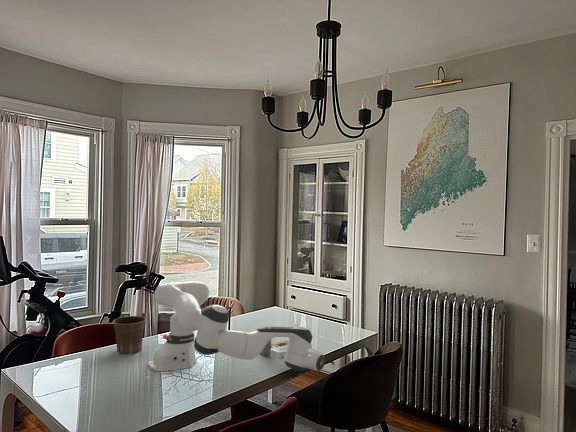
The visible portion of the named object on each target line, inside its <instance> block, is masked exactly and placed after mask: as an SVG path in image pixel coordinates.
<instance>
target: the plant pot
mask: <svg viewBox="0 0 576 432" xmlns="http://www.w3.org/2000/svg"><path fill="white" fill-rule="evenodd" d="M146 320H147V319H146V317H144V316H140V315H129V316H121V317H118V318H115V319H113V320H112V324H113V329H114V331H115V340H116V342H115V343H116V351H117V353H118V352H119V353H118V354H124V355H127V353H131V354H135V352H136V353H138V352H139V351H142V350H143V349H142V348H143V337H144V328H145V322H146Z"/></svg>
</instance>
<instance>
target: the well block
mask: <svg viewBox="0 0 576 432" xmlns="http://www.w3.org/2000/svg"><path fill="white" fill-rule="evenodd" d="M288 342H289V340H283V341H280V342H279V341H278V342H274V343H271V347H272V346H275V347H276V348H277V347H281V346H285V345H286V343H288Z"/></svg>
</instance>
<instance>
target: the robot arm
mask: <svg viewBox="0 0 576 432" xmlns="http://www.w3.org/2000/svg"><path fill="white" fill-rule="evenodd" d="M209 289H210V288H209V286H208V284H207V283H205V282H201V281H197V280H196V281H194V280H193V281H183V282H182V281H181V282H179V281H178V282H166V283H162V284H159V285H157V287H156V288H155V292H154V298H155V302H156V303H157V304H158V305H160V306H164V307H166V308H168V309H169V308H170V309H171V310H172V311H174V313H173V314H172V316H171V317H170V321H169V322H170V323H169V324H170V325H169V326H170V327H169V328H170V329H169V332H170V333H168V335H167V334H165V333H164V334H163V335H162V338H163V339H164V340H166V341H165V342H164V343H163V344H162V345H161V346H160V347H159V348H157V350H155V352H154V354H153V359H152V360H151V361H149V362H148V364H149V366H148V367H149V368H150V369H151V370H152V371H155V372H158V373H159V372H161V373H162V372H170V371H176V370H181V369H187V368H192V367H193V365H194V364H196V363H197V358H196V353H195V352H197V353H199V354H202V355H203V356H204V355H205V356H210V355H211V356H212V355H215V354H217V353H221V354H223V355H226V356H229V357H231V358H235V359H240V360H245V361H246V360H248V361H249V360H250V361H252V360H253V359H256V358H257V357H258V356H260V353H261V352H262V351H263V349H264V347H265V346H266V344H267V343H268V342H269V341H270V340H271V341H272V339H274V338H288V341H289V342H288V343H286V345H285V346H281V347H277V348H276V347H275V346H272V347H271V350H270V357H271V358H273V359H275V360H283V362H284V364H285V366H286V367H287V368H290V369H292V370H294V371H297V372H304V371H306V370H308V369H309V370H312V371H316V372H320V371H322V370H323V369H324V366H325V364H326V363H325V362H326V356H325V355H324V354H323V353H322V352H320V351H318V350H317V349H315V348H312V347H313V345H312V344H313V343H312V340H313V334H312V332H311V330H310V329H309V328H307V327H304V326H295V327H294V326H292V327H289V326H287V327H285V326H284V327H283V326H260V327H258V328H257V329H256V330H254V331H251V332H250V331H249V332H247V331H243V330H234V329H233V330H229V329H227V325H228V322H229V320H230V311H229V310H228V308H226V307H224V306H222V305H219V304H210V305H208V306H206V307H205V306H204V307H203V308H202V307H201V305H203V304H204V303H205V302H207V300H208V299H209V295H210V290H209ZM196 331H197V332H196ZM195 332H196V337H195ZM195 350H196V351H195ZM169 370H170V371H169Z"/></svg>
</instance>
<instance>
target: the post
mask: <svg viewBox="0 0 576 432" xmlns="http://www.w3.org/2000/svg"><path fill="white" fill-rule="evenodd" d="M271 344H272V339H271V340H270V341H269V342H268V343H267V344H266V346H265V347H264V349H263V351H262V352H261V353H260V354H259V356H262V357H264V358H265V357H269V356H270V350H271ZM270 357H271V356H270Z"/></svg>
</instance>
